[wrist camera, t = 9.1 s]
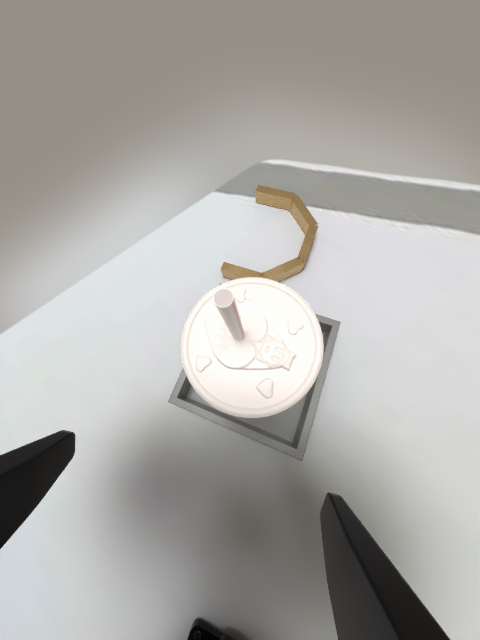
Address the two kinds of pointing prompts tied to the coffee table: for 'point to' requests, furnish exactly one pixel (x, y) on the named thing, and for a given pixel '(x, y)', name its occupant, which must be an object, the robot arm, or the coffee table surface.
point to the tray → (275, 430)
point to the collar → (305, 222)
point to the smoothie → (252, 347)
